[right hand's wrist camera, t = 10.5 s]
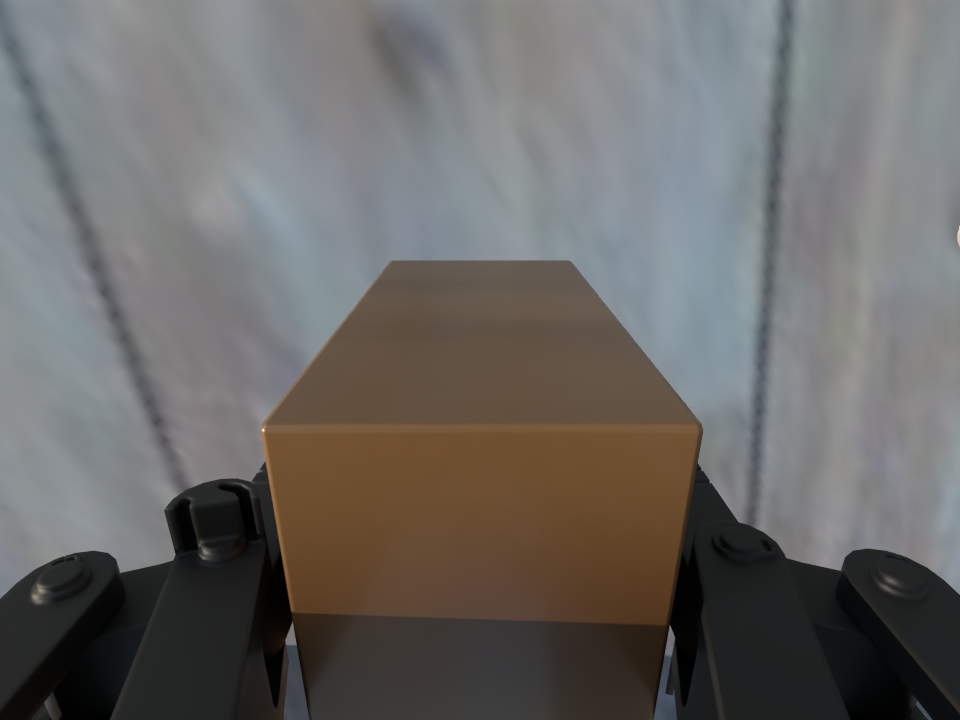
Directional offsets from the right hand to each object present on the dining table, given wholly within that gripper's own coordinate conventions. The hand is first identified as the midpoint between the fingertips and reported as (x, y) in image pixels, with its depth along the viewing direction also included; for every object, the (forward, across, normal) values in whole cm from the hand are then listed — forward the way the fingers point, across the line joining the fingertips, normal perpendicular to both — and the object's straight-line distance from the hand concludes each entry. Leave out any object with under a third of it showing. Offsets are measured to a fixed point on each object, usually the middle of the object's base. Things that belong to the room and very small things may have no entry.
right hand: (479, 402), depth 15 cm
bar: (+1, 0, -9) cm, 9 cm away
